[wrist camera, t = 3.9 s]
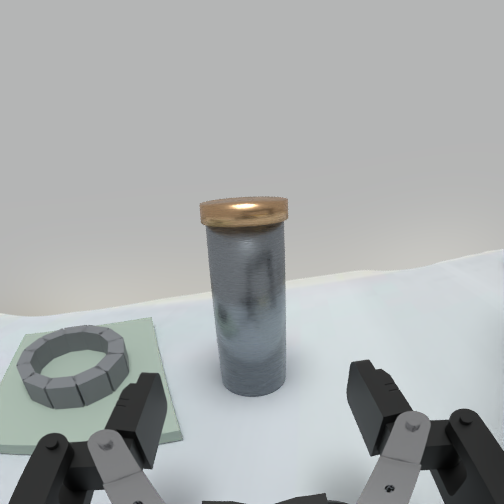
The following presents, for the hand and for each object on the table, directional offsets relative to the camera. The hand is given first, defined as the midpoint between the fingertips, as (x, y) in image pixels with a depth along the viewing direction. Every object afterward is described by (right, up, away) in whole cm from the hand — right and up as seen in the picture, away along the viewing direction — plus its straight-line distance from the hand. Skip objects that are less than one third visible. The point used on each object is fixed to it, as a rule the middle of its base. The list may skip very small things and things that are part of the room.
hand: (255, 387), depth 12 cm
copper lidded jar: (0, -5, +12) cm, 13 cm away
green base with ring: (-15, -6, +11) cm, 20 cm away
